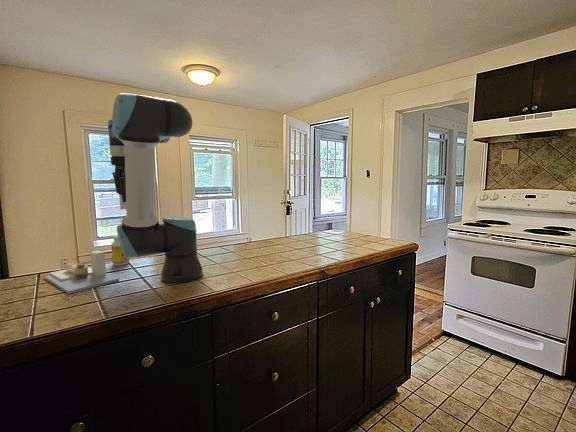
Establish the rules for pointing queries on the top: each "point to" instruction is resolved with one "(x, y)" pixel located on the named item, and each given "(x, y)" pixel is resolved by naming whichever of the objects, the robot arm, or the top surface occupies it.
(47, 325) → the top surface
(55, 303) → the top surface
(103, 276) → the mounted latch plate
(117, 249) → the supplement bottle
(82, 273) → the bar
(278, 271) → the top surface
